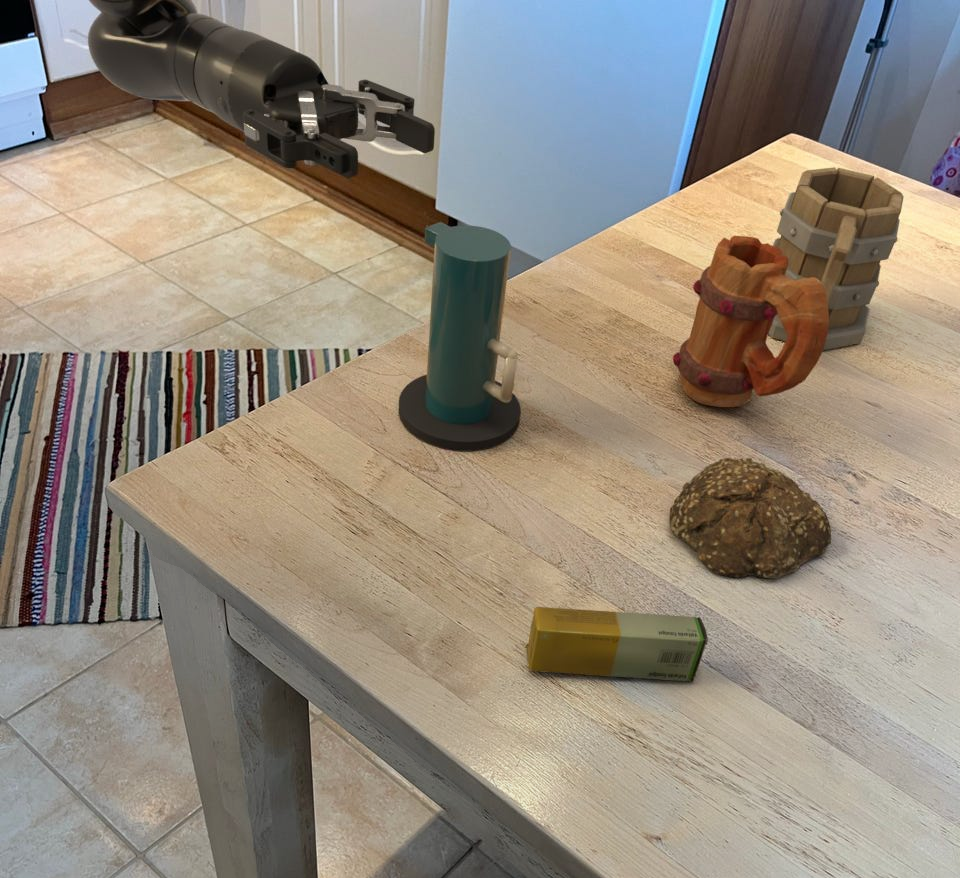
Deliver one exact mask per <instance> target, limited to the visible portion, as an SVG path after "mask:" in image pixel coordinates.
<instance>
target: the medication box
mask: <svg viewBox="0 0 960 878" xmlns="http://www.w3.org/2000/svg"><path fill="white" fill-rule="evenodd" d="M529 630H530V631H529V637H528V642H527V643H526V645H525V649H526V660H527V665H528V668H529V671H530V672H541V673H542V672H543V673H554V674H555V673H556V674H558V673H559V674H572V675H588V676H602V677H603V676H604V677H617V678H633V679H650V680H664V681H665V680H667V681H678V682H679V681H680V682H681V681H682V682H691V683H693V682H694V681H695V680H696V677H697V673H698V670H699V667H700V664H701V661H702V658H703V654H704V651H705V648H706V646H707V645H708V643H709V637H708V633H707V632H708V631H707V630H706V627H705V625H704V622H703V620H702V618H701V617H700V616H699V617H697V616H687V615H669V614H668V615H667V614H653V613H639V612H625V611H622V612H621V611H607V610H593V609H592V610H591V609H577V608H576V609H575V608H563V607H561V608H560V607H547V606H545V607H544V606H535V607H534V608H533V615H532V620H531V625H530V629H529Z"/></svg>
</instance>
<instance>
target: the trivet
mask: <svg viewBox="0 0 960 878" xmlns="http://www.w3.org/2000/svg"><path fill="white" fill-rule="evenodd" d="M426 379H427V374H424V375H421V376H419V377H416V378H415V379H412V381H410V382H409V383H407V384H406V385H405V386H404V388H403V389H402V391H401V392H400V395H399V397H398V409H397V410H398V417H399V419H400V422H401V424H402V425H403V427H404V428H405V430H406V431H408V432H409V433H410V434H411V435H412V436H414V437H415V438H417V439H418V440H420V441H422V442H424V443H425V444H428V445H431V446H433V447H437V448H441V449H443V450H444V449H445V450H451V451H458V452H473V451H475V452H476V451H481V450H486V449H491V448H494V447H496V446H499V445H501V444H503V443H505V442H506V441H508V440H510V438H512V436H514V434H515V433H516V432H517V430H518V428H519V427H520V426H519V425H520V421H521V414H522V412H521V411H522V410H521V409H522V407H521V404H520V401H519V399H518V397H517V396H516V395H515V394H514V393H512V399H511V401H510V402H508V403H504V402H502V401H500V400H499V399H497V398H495V397H493V401H492V409H491V412H490V414H489V415H488V416H487V417H486V418H484V419H483V420H481V421H479V422H476V423H471V424H453V423H449V422H445V421H442V420H440V419H438V418H436V417H434V416H433V415H432V414H431V413H430V412H429V411H428V410H427V408H426V405H425V395H426ZM495 384H497V385H498V386H500V387H501V386H502V382H499V381H498V380H496V379H495Z"/></svg>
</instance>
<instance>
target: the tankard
mask: <svg viewBox="0 0 960 878" xmlns="http://www.w3.org/2000/svg"><path fill="white" fill-rule="evenodd" d="M903 203H904V194H903V193H902V192H901V191H900V190H898V189H896V188H895V187H893V186H892V185H890V184H888V183H887V182H885V180H882V178H879V177H875V175H871V174H868V173H864V172H859V171H854V170H850V169H846V168H843V167H837V168H836V166H835V167H834V166H833V167H824V168H816V169H806V170H805V171H803V172H802V173H801V175H800V178H799V180H798V183H797V186H796V189H795V191H793V192H790V193H789V195H788V197H787V200H786V202H785V205H784V207H783V208H781V209H780V211H779V216H780V219H779V222H778V226H777V229H776V232H777V233H778V235H780V237H779V238H775V239H774V241H773V244H772V246H776V247H778V248H779V249H780V250H781V251H782V255H785V256H786V257H787V258H788V267H787V270H786V274H785V276H786V277H788V278H790V279H792V280H794V281H795V280H800V279H803V278H811V277H815V278H817V279H818V280H819V281H820V282H821V283H822V284H823V286H824V288H825V290H826V296H827V303H828V313H829V324H828V334H827V337H826V341H825V346H824V349H823V351H828V350H832V349H839V348H844V347H849V346H853V344H855V345H859V344H861V342H862V340H863V338H864V336H865V333H866V329H867V324H868V319H869V314H870V308H869V307H868V305H870V304H871V301H872V298H873V295H874V294H875V292H876V289H877V288H878V287H879V286H880V281H879V277H880V272H881V267H882V266H881V261H887V260H889V259H890V258H889V257H890V255H891V253H892V251H893V248H894V246H895V244H896V243H897V242H898V232H899V227H900V223H901V222H900V221H901V220H900V215H901V213H902V208H903ZM768 336H770V337H771V338H772V339H774V340H778V341H781V342H784V343H785V342H786V340H787V334H786V331H785V329H784V327H783V325H782V323H781V320H780V318H779V315H778V314H777V315H776V316H775V317H774V320H773V323H772V326H771V328H770V331H769V333H768ZM848 345H849V346H848ZM843 346H844V347H843ZM838 347H839V348H838Z"/></svg>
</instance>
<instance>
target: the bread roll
mask: <svg viewBox="0 0 960 878" xmlns="http://www.w3.org/2000/svg"><path fill="white" fill-rule="evenodd" d="M668 519H669V520H668V521H669V529H670V531H671V533H672V534H673V535H674V536H675V537H677V538H679V539H680V540H682V541H683V542H684V543H686V544H688V545H690V546H691V547H692V548H693V549H694V551H695V552H696V553H697V555H698V558H699V560H700V562H701V563H702V564H703V565H704V567H706V568H707V569H708V570H709V571H710V572H712V573H713V574H716V575H721V576H724V577H725V576H726V577H730V578H737V579H739V578H743V577H746V576H748V575H753V576H756V577H759V578H765V579H775V578H780V577H782V576H783V575H788V574H793V573H794V572H795V571H797V570H799V569H800V566H802V565H803V563H804V562H807V561H808V560H810V559H818V558H820V557H822V556H823V555H825V554H826V551H825V548H826V547H828V546H829V545H831V543H832V528H831V524H830V521H829V520H830V519H829V517H828V515H827V513H826V512H825V511H824V509H823V507H821V505H820V504H819V503H818V502H817V501H816V500H814V499H813V497H812V496H811V494H810V493H809V492H805V491H803V490H802V489H801V488H800V487H799V484H797V483H796V482H795V480H793V479H792V478H791V477H789V476H787V475H786V474H785V472H781V471H779V470H778V469H775V468H769V467H767V466H766V464H765V463H764V462H757V461H754V460H753V459H752V457H746V458H745V459H743V458H742V457H741V458H735V457H734V458H732V457H725V458H721V459H719V460H718V461H715V462H713V463H712V464H711V463H710V464H709V465H707V466H705V467H704V469H702V470H701V471H700V472H698V473H696V474H695V476H693V477H692V479H691V480H690V481H689V482H685V483H684V484H683V486H682V490H681V492H680V493H679V494H678V496H677V497H676V498H675V499H674V501H673V504H672V505H671V506H670V508H669V518H668Z"/></svg>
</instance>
